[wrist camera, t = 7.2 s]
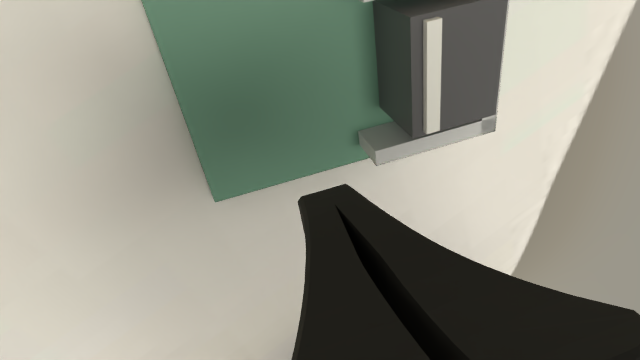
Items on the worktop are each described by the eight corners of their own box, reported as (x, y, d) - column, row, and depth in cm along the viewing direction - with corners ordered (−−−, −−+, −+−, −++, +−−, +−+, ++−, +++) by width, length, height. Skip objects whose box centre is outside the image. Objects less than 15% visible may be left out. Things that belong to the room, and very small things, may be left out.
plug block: (452, 87, 21) (500, 117, 18) (379, 107, 21) (415, 141, 18) (457, -19, 19) (513, -5, 15) (372, -1, 18) (414, 19, 15)
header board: (477, 120, 24) (520, 150, 21) (214, 195, 21) (220, 240, 19) (496, -117, 17) (561, -122, 15) (126, -47, 15) (116, -36, 12)
